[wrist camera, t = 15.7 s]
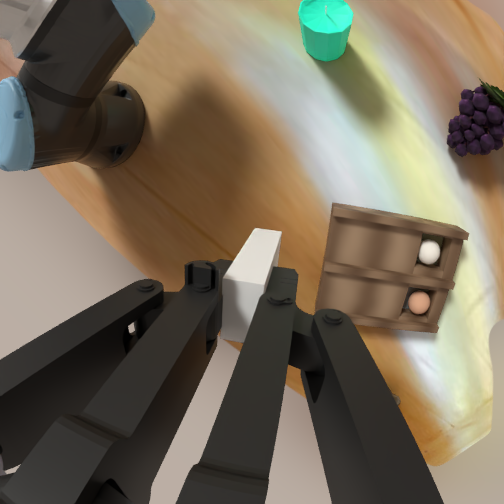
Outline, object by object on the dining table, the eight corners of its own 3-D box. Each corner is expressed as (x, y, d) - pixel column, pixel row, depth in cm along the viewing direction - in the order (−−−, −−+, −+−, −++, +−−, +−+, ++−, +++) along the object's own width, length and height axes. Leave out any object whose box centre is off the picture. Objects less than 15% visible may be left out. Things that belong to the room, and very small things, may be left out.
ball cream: (410, 259, 39) (423, 268, 36) (415, 235, 38) (429, 242, 35) (427, 259, 40) (441, 267, 36) (432, 236, 38) (447, 243, 35)
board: (315, 304, 45) (314, 318, 41) (332, 202, 40) (334, 207, 36) (429, 319, 42) (436, 333, 38) (457, 226, 36) (469, 233, 33)
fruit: (428, 126, 36) (482, 67, 27) (473, 178, 35) (526, 119, 26) (434, 124, 28) (499, 51, 19) (489, 190, 27) (552, 118, 18)
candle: (347, 62, 33) (358, 30, 22) (304, 61, 34) (299, 28, 23) (343, 26, 31) (350, -13, 20) (301, 26, 32) (294, -14, 21)
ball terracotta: (401, 310, 41) (417, 320, 38) (407, 289, 40) (424, 299, 37) (414, 305, 42) (430, 314, 39) (419, 285, 41) (436, 294, 38)
